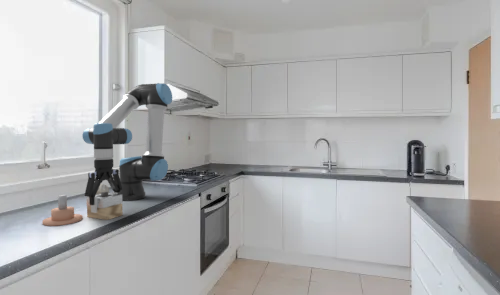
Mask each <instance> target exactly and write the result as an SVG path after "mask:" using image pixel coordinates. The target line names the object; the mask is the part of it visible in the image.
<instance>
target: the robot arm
mask: <svg viewBox="0 0 500 295" xmlns="http://www.w3.org/2000/svg"><path fill="white" fill-rule="evenodd" d="M172 101H173V93H172V90H171V88H170V86H168V84H166V83H159V82H157V83H146V84H144V83H142V84H138V85H136V86H134V87H132V88H131V89H129V90H128V91H127V92H126V93H125V94H124V95H123V96H122V98H121V100H120V101H119V102H118V103H117V104H116V105H115V106H114V107H113V108H112V109H110V111H109V112H108V113H107V114H106V115H105V116H104V117H103V118H102V119H101V120H100V121H99V122H96V123H93V127H89V128H86V129H85V130H83V132H82V136H81V137H82V140H83V142H85V143H86V144H89V145H93V158H94V161H93V167H94V171H93V172H88V173H87V176H88V178H87V183H86V187H85V191H84V197H89V201H90V205H91V212H93V213H97V197H95V195H96V193H97V191H98V189H99V186H100V184H103V182H104V181H107V182H108V184H109V186H110V188H111V189H112V192H111V193H113V194H122V201H135V200H136V201H139V200H141V199H145V198H146V196H147V195H146V191H145V188H144V185H143V181H153V182H154V181H155V182H156V181H161V180H163V179H164V178H165V177H166V175H167V173H168V171H169V170H168V169H169V164H168V161H167V160H166V159H165V155H164V154H163V152H162V149H163V136H164V122H165V121H164V120H165V111H166V110H167V109H168V105H170V104H171V103H172ZM140 106H141V107H142V106H145V107H146V109H147V110H148V111H147V125H146V139H145V152H144V153H143V154H142V155H141V156H140V155H138V156H137V155H136V156H131V157H122V158H121V159H120V160H119V166H118V167H119V169H113V168H114V145H127V144H129V143H131V141H132V140H133V132H132V131H131V130H130V129H128V128H124V127H119V125H120V124H121V123H122V122H123V121H124V120H125V119H126V118H127V117H128V116H129V115H130V114H131V113H132V112H133V111H134V110H137V109H138V108H139V107H140Z"/></svg>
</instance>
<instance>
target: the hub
mask: <svg viewBox="0 0 500 295" xmlns="http://www.w3.org/2000/svg"><path fill="white" fill-rule="evenodd" d="M57 203H58V207H55V208H52V209H51V210H50V214H51V215H50V217H46V218H44V219H43V220H42V225H43V226H47V227H58V226H59V227H60V226H67V225H72V224H75V223H78V222H80V221H82V220H83V217H84V216H83V215H82V214H80V213H75V207H74V206H68V196H67V194H62V195H61V194H60V195H57Z"/></svg>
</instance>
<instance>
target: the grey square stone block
mask: <svg viewBox="0 0 500 295" xmlns="http://www.w3.org/2000/svg"><path fill="white" fill-rule="evenodd" d="M85 197H86V200H85V202H86V207H87V206H89V207H91V205H90V201H89V197H87V196H85ZM95 197H97V208H107V207H111V206H114V205H118V204H122V205H123V200H122V194H113V193H112V192H110V193H108V196H107V197H101V194H98V195H95Z"/></svg>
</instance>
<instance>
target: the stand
mask: <svg viewBox="0 0 500 295" xmlns="http://www.w3.org/2000/svg"><path fill="white" fill-rule="evenodd" d="M107 196H108V192H101V197H107ZM86 209H87V210H86V214H87V215H86V217H87V218H94V219H99V220H105V221H108V220H113V219H114V218H117V217H118V218H119V217H121V216H123V203H122V204H118V205H114V206H111V207H107V208H97V213H93V212H91V207H89V206H87V205H86Z"/></svg>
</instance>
